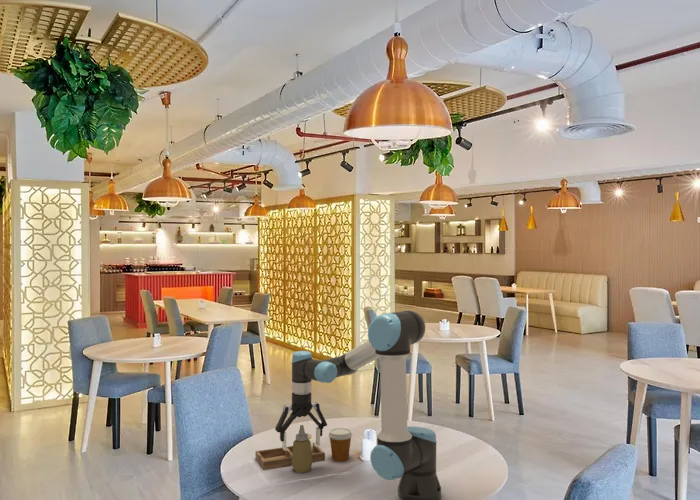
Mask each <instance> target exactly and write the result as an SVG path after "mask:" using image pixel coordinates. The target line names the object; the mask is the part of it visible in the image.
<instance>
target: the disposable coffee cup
mask: <svg viewBox="0 0 700 500" xmlns="http://www.w3.org/2000/svg"><path fill="white" fill-rule="evenodd" d="M328 437H329V444H330V449H331V450H330V451H331V458H332V460H333V461H335V462H346V461H348V460H349V457H350V448H351V439H352V437H353V433H352V431H351V429H349V428H345V427H336V428H331V429H330V430H329V433H328Z"/></svg>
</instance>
